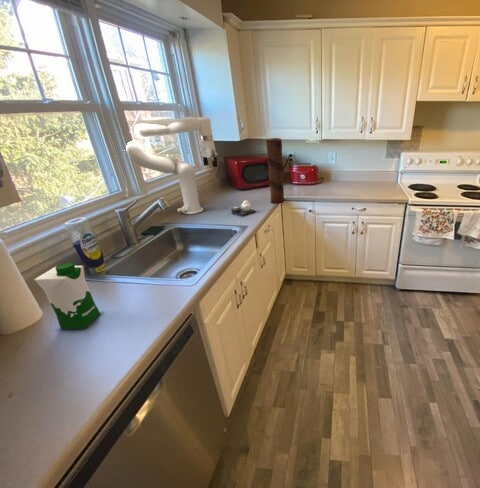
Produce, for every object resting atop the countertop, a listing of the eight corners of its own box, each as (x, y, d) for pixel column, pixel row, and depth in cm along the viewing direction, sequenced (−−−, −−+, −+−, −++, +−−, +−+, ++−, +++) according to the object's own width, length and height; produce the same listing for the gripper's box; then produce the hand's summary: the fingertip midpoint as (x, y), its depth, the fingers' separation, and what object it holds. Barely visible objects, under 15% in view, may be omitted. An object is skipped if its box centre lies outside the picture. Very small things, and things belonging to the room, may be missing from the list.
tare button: (235, 210, 181) (235, 208, 181) (232, 209, 183) (232, 207, 182) (239, 209, 184) (238, 207, 183) (236, 208, 185) (235, 206, 184)
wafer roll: (281, 204, 204) (277, 139, 185) (268, 203, 207) (263, 138, 188) (287, 200, 213) (284, 137, 194) (274, 199, 216) (270, 137, 197)
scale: (241, 217, 178) (241, 212, 177) (230, 213, 184) (229, 209, 182) (255, 212, 187) (255, 207, 186) (244, 209, 193) (243, 204, 191)
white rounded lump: (242, 209, 188) (241, 199, 185) (251, 209, 188) (250, 198, 185) (241, 212, 182) (239, 201, 179) (250, 211, 183) (249, 201, 180)
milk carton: (86, 330, 84) (60, 273, 76) (54, 331, 83) (25, 274, 75) (105, 312, 92) (84, 258, 83) (76, 312, 91) (52, 258, 83)
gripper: (193, 138, 179) (197, 165, 186) (209, 139, 170) (214, 168, 177) (203, 137, 184) (207, 164, 191) (220, 138, 175) (223, 166, 183)
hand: (210, 166), depth 184 cm, fingers open, 9 cm apart
